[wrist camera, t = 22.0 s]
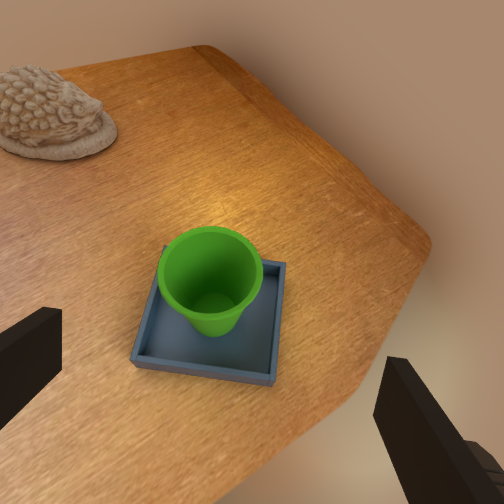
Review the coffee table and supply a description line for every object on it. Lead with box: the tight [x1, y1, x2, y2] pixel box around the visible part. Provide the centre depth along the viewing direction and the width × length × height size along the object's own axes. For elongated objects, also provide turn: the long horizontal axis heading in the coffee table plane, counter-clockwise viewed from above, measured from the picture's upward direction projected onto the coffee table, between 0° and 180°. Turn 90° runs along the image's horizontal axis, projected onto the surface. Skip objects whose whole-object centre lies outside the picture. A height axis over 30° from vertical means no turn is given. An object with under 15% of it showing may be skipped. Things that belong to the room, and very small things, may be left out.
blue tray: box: [130, 245, 286, 387], centre depth 39 cm, size 14×13×3 cm
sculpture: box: [0, 64, 118, 161], centre depth 49 cm, size 12×17×10 cm
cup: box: [157, 226, 263, 337], centre depth 35 cm, size 9×9×11 cm
